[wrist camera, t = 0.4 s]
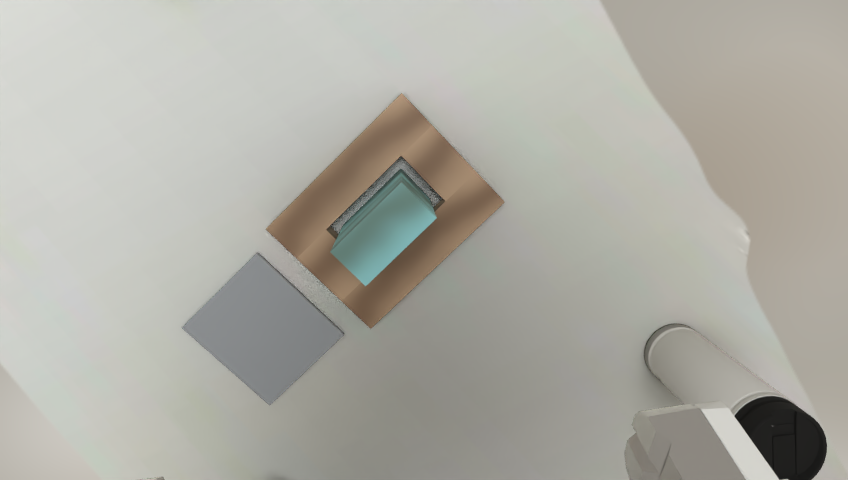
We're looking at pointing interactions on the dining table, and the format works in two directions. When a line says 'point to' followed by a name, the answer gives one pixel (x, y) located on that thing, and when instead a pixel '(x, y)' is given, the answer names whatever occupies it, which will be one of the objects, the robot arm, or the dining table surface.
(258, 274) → the slate mat
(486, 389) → the dining table surface
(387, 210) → the teal tag
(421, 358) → the dining table surface
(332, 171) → the walnut slot holder
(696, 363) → the travel mug
